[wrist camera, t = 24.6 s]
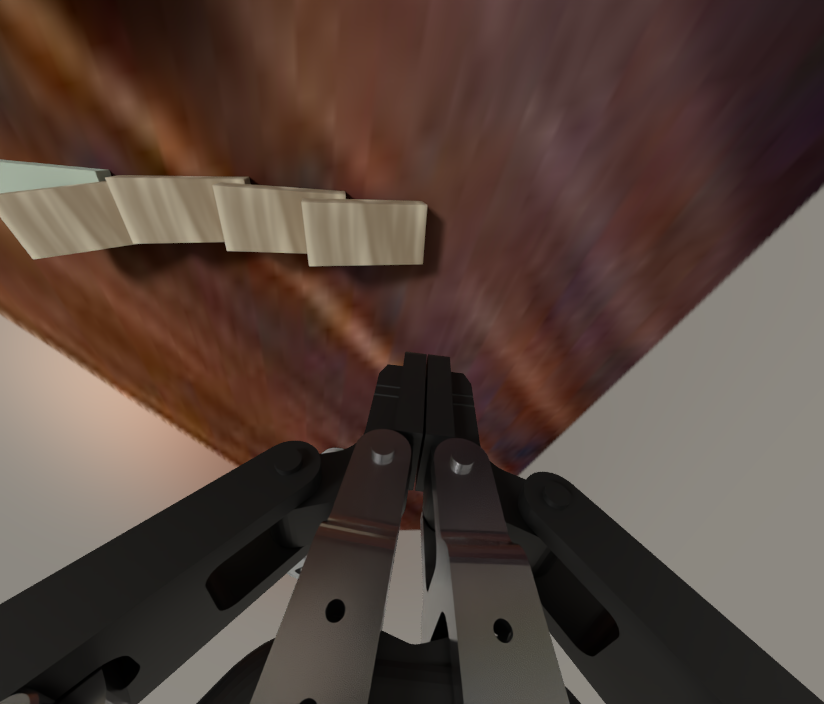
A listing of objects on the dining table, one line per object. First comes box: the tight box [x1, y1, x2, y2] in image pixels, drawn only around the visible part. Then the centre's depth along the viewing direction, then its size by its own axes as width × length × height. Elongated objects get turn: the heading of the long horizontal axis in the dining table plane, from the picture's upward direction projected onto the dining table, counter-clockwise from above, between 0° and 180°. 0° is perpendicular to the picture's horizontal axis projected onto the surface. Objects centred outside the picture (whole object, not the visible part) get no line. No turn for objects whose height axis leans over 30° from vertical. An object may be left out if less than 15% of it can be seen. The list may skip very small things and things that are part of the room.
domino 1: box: [0, 160, 112, 194], centre depth 30 cm, size 2×5×10 cm
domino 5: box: [301, 198, 427, 266], centre depth 28 cm, size 2×5×10 cm
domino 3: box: [105, 175, 251, 244], centre depth 28 cm, size 2×5×10 cm
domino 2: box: [0, 181, 134, 259], centre depth 28 cm, size 2×5×10 cm
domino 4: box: [212, 182, 346, 254], centre depth 28 cm, size 2×5×10 cm
